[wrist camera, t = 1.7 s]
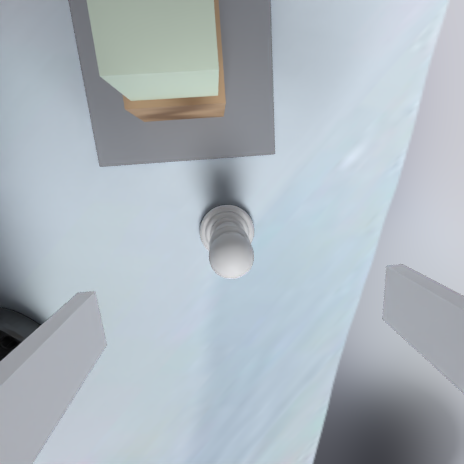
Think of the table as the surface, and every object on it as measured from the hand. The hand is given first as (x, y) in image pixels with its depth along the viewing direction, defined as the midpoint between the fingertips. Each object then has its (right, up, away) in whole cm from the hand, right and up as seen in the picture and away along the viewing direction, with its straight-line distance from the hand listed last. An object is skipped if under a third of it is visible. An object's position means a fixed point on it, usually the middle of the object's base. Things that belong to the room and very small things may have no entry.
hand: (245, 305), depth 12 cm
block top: (-5, +16, +5) cm, 17 cm away
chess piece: (-1, +4, +14) cm, 15 cm away
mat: (-5, +17, +11) cm, 21 cm away
